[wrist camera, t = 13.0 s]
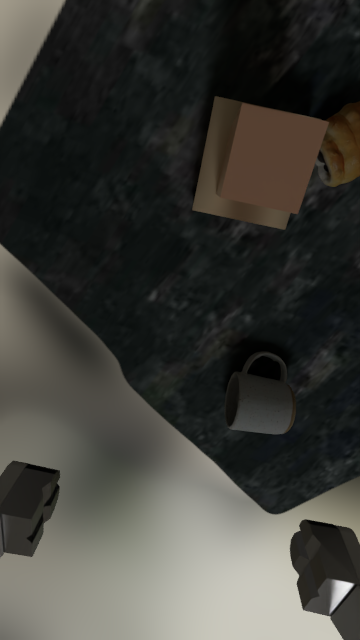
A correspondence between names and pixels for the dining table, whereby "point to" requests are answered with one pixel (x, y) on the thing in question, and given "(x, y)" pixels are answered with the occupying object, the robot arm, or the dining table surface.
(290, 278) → the dining table surface
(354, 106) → the pastry
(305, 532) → the robot arm
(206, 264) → the dining table surface
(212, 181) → the oak base block
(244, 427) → the ceramic mug
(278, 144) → the reddish brown block
